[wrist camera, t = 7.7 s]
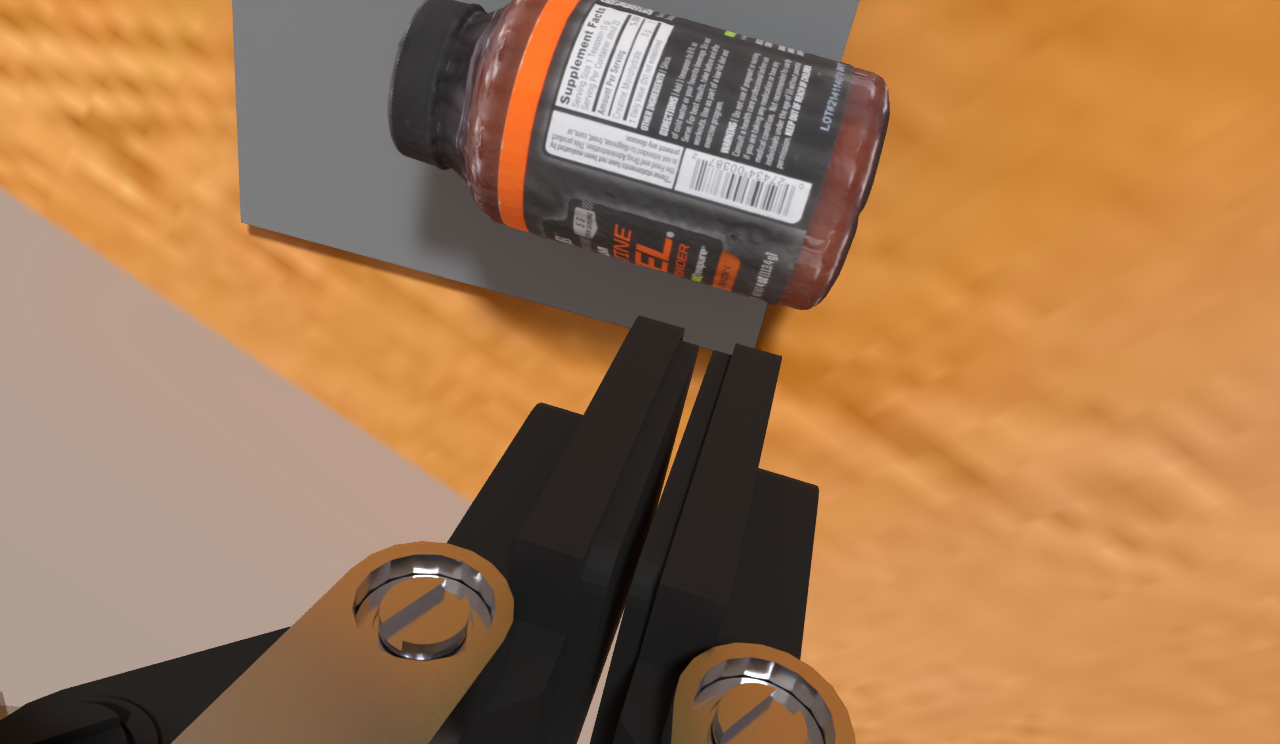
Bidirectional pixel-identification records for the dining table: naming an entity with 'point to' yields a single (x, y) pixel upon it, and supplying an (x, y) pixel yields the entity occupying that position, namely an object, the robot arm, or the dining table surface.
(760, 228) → the supplement bottle
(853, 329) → the dining table surface
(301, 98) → the mat
